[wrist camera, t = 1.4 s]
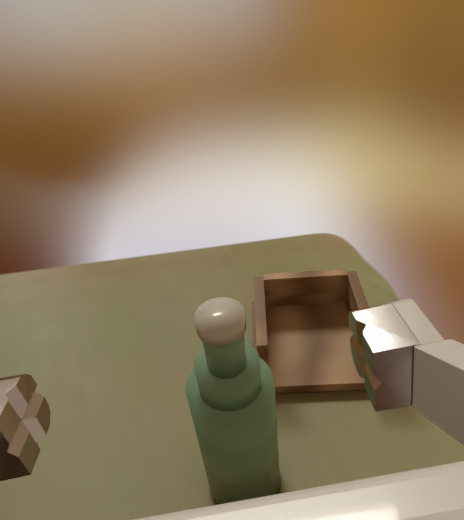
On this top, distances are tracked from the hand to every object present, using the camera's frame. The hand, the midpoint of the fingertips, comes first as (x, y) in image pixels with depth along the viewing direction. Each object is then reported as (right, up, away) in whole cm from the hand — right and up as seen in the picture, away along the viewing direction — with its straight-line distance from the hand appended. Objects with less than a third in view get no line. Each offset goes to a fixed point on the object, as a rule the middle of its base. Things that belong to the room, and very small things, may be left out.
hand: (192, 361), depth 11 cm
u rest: (+9, -6, +34) cm, 36 cm away
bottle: (+2, -15, +23) cm, 27 cm away
